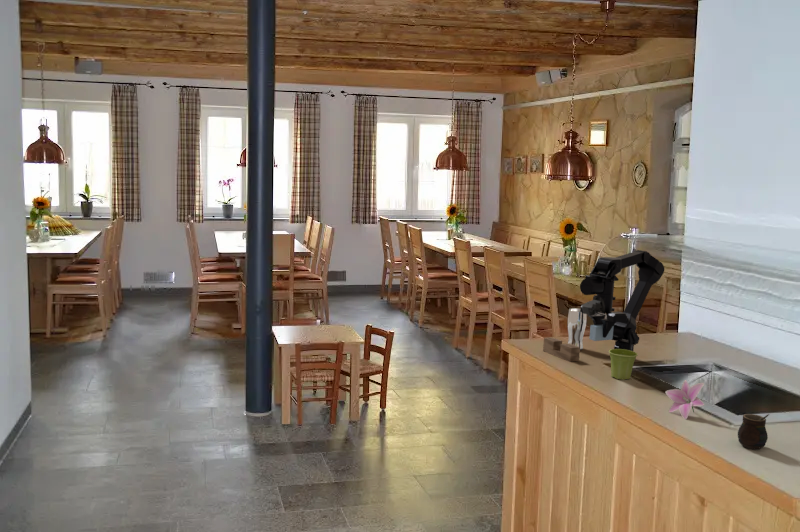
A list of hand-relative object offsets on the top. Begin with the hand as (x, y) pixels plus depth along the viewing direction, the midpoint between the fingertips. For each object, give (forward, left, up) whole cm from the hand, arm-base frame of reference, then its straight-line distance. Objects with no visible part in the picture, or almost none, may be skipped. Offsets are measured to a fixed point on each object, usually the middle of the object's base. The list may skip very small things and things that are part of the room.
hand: (601, 336), depth 288 cm
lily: (+14, +54, -10) cm, 57 cm away
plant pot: (+6, +18, -10) cm, 21 cm away
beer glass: (-5, -20, -10) cm, 23 cm away
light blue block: (0, 0, -1) cm, 1 cm away
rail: (+8, -12, -10) cm, 17 cm away
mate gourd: (+18, +81, -10) cm, 84 cm away
